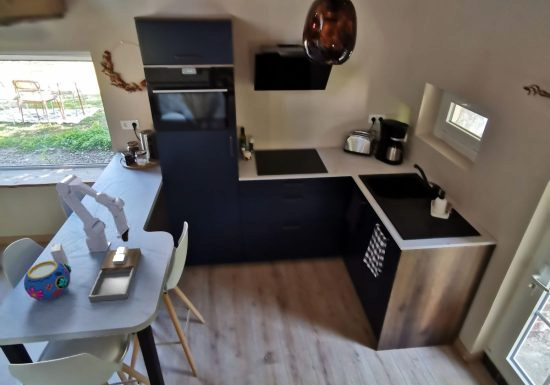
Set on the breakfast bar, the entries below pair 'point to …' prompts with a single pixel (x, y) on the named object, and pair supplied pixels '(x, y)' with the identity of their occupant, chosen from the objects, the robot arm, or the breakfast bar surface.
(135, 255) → the tan wooden board
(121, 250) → the cream tile
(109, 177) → the breakfast bar surface
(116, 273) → the bin
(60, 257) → the skincare box
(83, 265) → the breakfast bar surface
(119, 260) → the blue grey tile
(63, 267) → the ceramic pot
